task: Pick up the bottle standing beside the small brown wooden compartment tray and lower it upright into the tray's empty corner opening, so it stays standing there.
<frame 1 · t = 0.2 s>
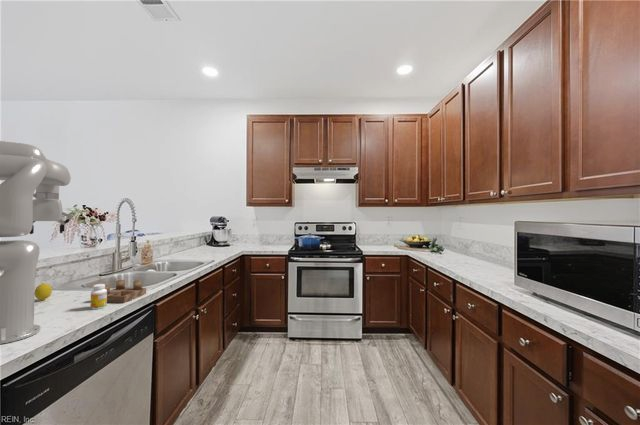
hand: (46, 233, 122), 31 cm above the worktop, tool pointing down, fingers open, 9 cm apart
brown wooden compartment tray: (121, 297, 126), on the worktop
lemon: (43, 300, 121), on the worktop
supplement bottle: (98, 307, 113), on the worktop
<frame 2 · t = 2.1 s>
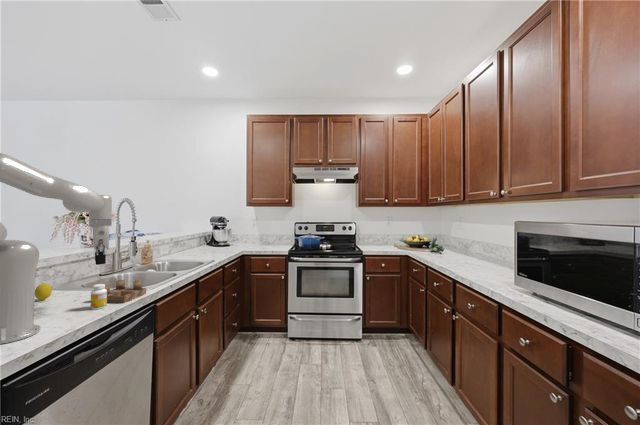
hand: (100, 262, 113), 19 cm above the worktop, tool pointing down, fingers open, 9 cm apart
nothing on the worktop moved.
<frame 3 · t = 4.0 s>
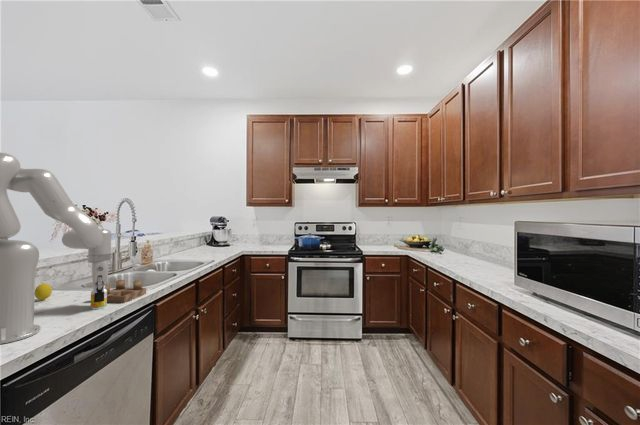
hand: (98, 299, 113), 4 cm above the worktop, tool pointing down, fingers closed on supplement bottle, 5 cm apart
supplement bottle: (98, 307, 113), on the worktop, touching gripper
everything else where it was.
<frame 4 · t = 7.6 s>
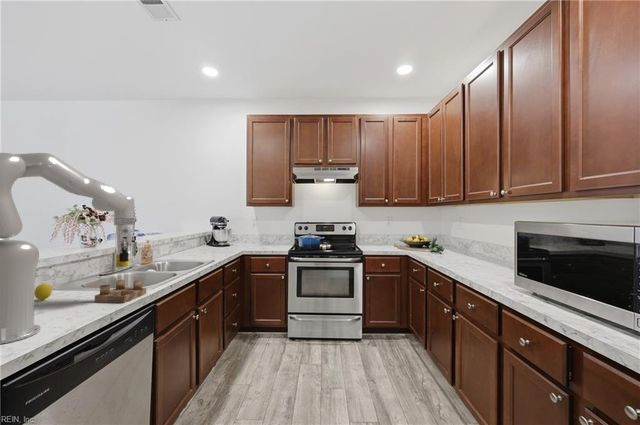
hand: (123, 260, 123), 19 cm above the worktop, tool pointing down, fingers closed on supplement bottle, 5 cm apart
supplement bottle: (123, 267, 123), point 15 cm above the worktop, touching gripper
everything else where it was.
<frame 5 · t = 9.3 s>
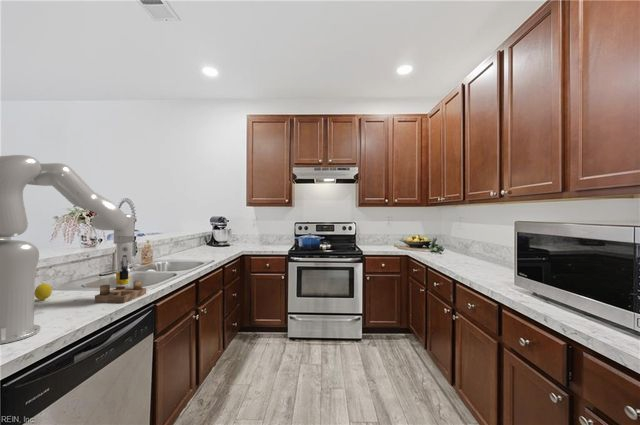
hand: (123, 277, 124), 10 cm above the worktop, tool pointing down, fingers closed on supplement bottle, 5 cm apart
supplement bottle: (123, 285, 123), point 7 cm above the worktop, touching gripper
everything else where it was.
when the fingers open (5 cm above the worktop, at t = 11.0 s): supplement bottle drops 2 cm, resting in brown wooden compartment tray.
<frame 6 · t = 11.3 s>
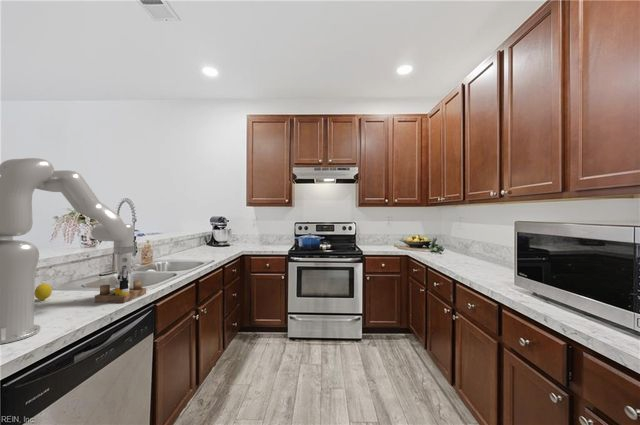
hand: (122, 286, 123), 6 cm above the worktop, tool pointing down, fingers open, 8 cm apart
supplement bottle: (122, 300, 123), resting in brown wooden compartment tray
everything else where it was.
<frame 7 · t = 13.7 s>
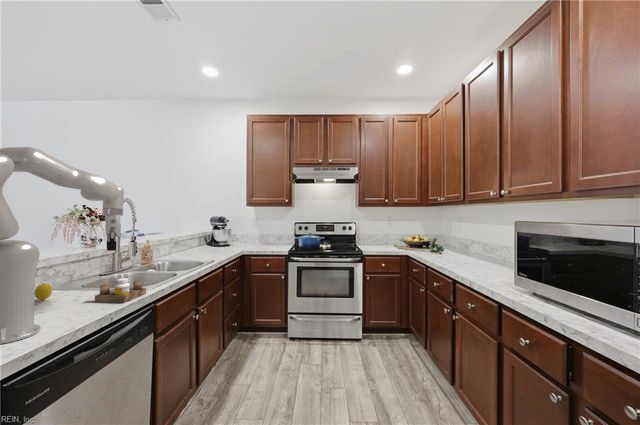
hand: (111, 249, 121), 24 cm above the worktop, tool pointing down, fingers open, 9 cm apart
nothing on the worktop moved.
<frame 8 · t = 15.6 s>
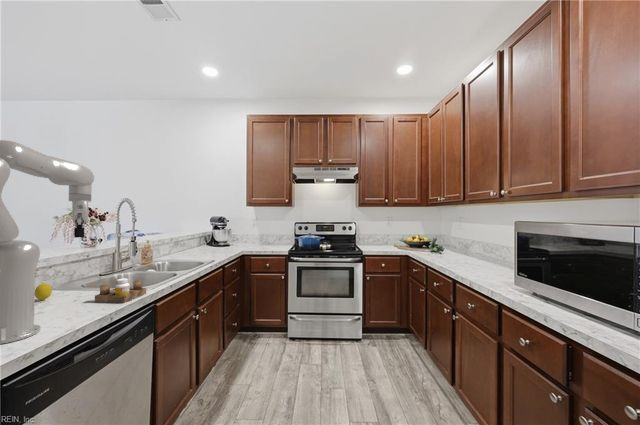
hand: (79, 236, 117), 30 cm above the worktop, tool pointing down, fingers open, 9 cm apart
nothing on the worktop moved.
at the end: supplement bottle 0.3 cm from the target spot on the brown wooden compartment tray, point 0.0 cm above the brown wooden compartment tray's base; supplement bottle tilted 0°; the gripper is holding nothing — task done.
